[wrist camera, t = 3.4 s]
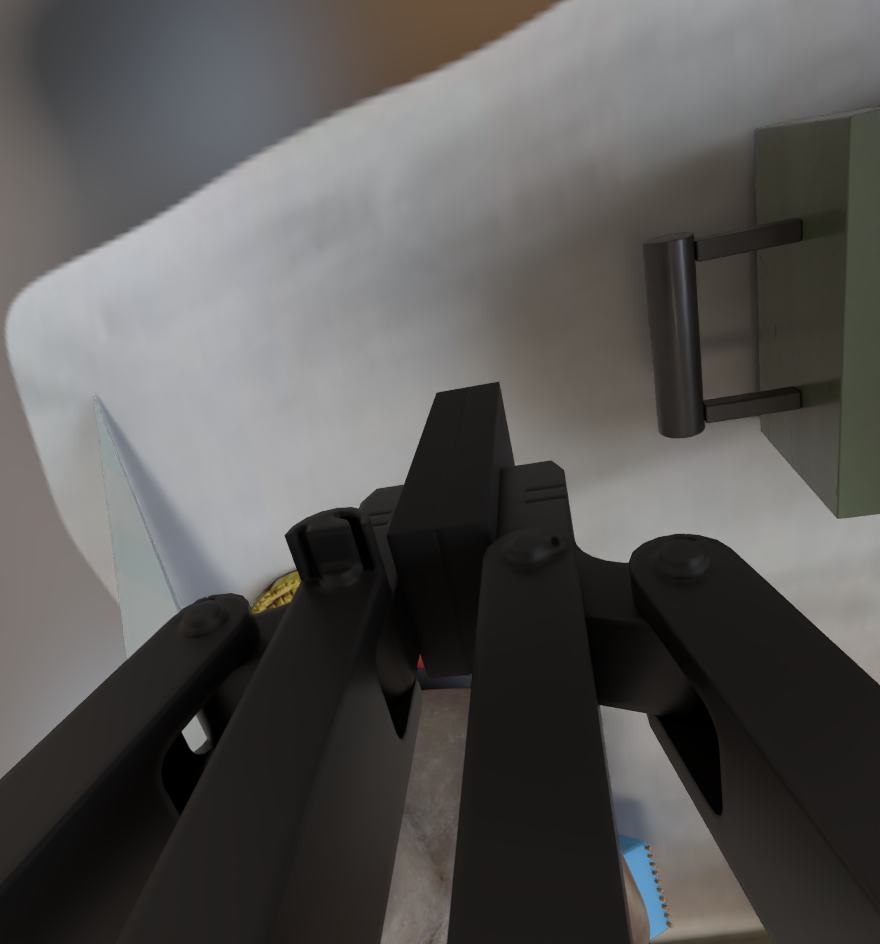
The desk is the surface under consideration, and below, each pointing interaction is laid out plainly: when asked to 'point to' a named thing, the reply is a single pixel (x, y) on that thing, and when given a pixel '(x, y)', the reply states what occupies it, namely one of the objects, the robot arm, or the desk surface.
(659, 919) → the building blocks
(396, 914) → the grey stone
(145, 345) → the desk surface
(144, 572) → the dagger
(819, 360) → the drawer
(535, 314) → the desk surface
